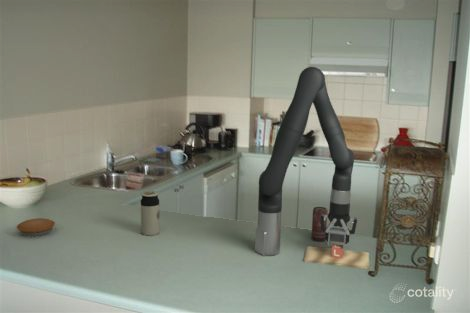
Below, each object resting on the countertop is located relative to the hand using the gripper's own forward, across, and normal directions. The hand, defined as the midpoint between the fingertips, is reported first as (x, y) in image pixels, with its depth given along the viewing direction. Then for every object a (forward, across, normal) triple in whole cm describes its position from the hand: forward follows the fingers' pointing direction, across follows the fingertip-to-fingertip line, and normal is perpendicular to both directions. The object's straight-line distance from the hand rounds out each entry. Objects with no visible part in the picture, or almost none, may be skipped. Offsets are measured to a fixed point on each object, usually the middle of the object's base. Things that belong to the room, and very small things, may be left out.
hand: (336, 242), depth 186 cm
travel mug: (+8, -80, +5) cm, 81 cm away
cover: (+1, 0, 0) cm, 1 cm away
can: (+7, -8, +19) cm, 22 cm away
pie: (+9, -128, -9) cm, 128 cm away
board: (+7, 0, 0) cm, 7 cm away
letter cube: (+6, 0, 0) cm, 6 cm away
